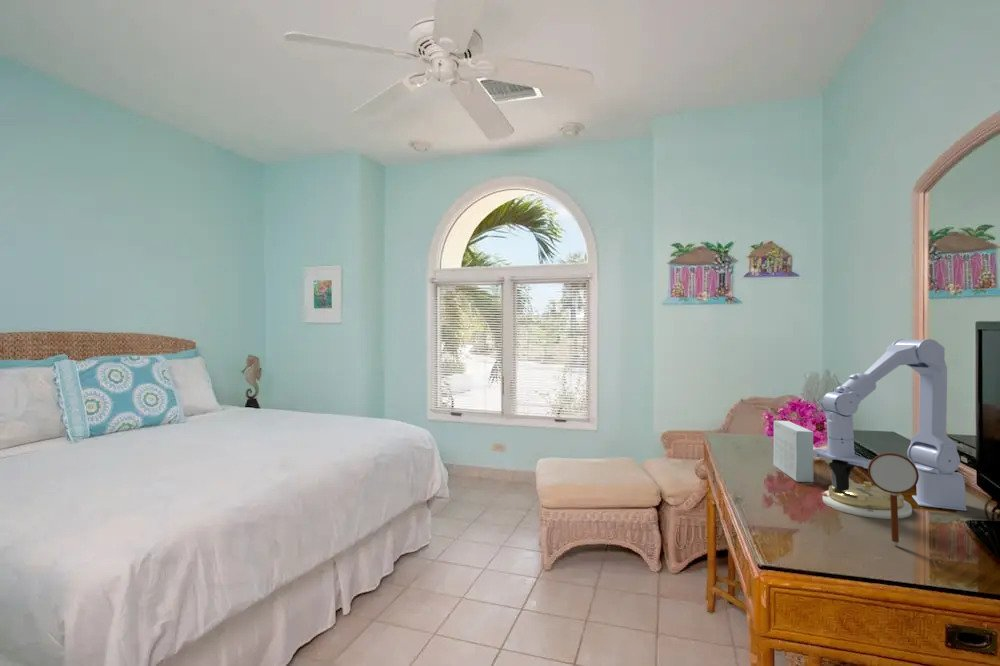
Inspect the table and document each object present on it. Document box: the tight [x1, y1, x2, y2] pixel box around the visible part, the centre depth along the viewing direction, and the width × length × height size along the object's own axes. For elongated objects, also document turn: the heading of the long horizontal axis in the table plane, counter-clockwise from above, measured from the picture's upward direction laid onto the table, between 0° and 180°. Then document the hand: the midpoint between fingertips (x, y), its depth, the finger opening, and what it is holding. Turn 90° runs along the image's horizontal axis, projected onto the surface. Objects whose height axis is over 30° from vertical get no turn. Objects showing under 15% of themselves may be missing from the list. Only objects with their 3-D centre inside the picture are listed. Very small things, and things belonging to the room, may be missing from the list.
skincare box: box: [772, 420, 814, 483], centre depth 162 cm, size 21×6×16 cm, turn 168°
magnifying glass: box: [867, 452, 919, 547], centre depth 106 cm, size 9×2×20 cm, turn 57°
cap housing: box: [821, 489, 913, 520], centre depth 130 cm, size 19×19×2 cm
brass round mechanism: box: [828, 469, 905, 510], centre depth 130 cm, size 16×16×7 cm
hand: (842, 489), depth 129 cm, fingers closed
